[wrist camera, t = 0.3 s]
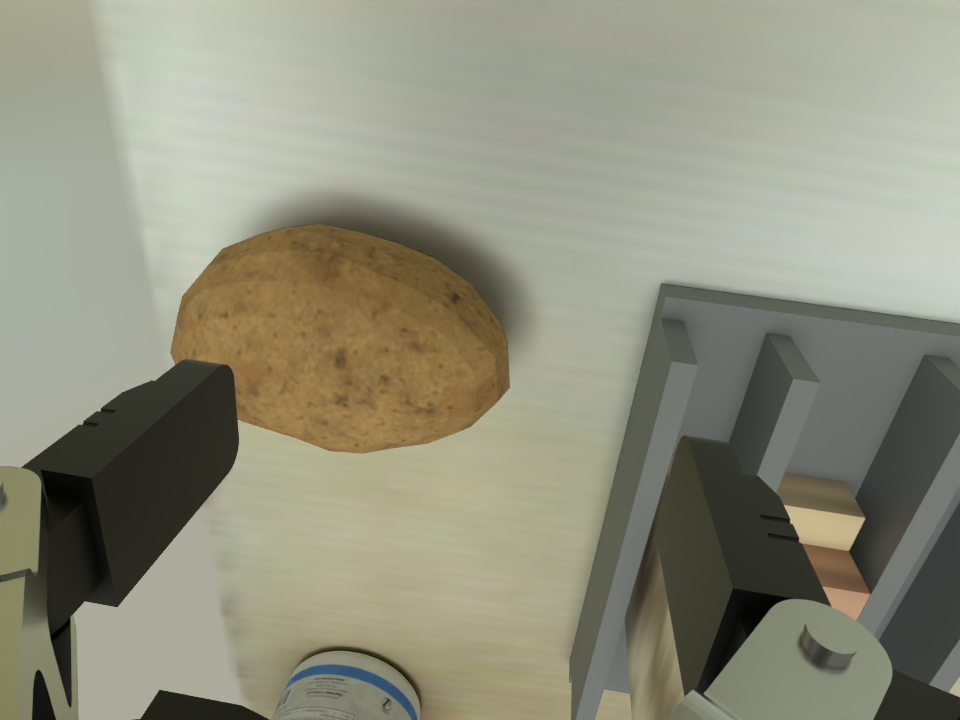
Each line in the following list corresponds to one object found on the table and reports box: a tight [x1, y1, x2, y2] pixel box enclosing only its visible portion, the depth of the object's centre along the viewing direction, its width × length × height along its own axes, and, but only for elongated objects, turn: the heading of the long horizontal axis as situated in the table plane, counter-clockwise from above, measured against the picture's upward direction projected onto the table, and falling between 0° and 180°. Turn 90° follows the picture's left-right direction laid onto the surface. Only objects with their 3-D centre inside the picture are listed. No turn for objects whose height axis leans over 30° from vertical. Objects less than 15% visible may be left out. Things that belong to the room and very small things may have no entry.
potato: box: [170, 224, 510, 453], centre depth 28 cm, size 10×14×8 cm
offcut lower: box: [776, 473, 865, 551], centre depth 31 cm, size 8×4×2 cm, turn 175°
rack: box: [569, 284, 960, 720], centre depth 32 cm, size 26×16×6 cm, turn 174°
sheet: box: [625, 455, 684, 720], centre depth 27 cm, size 10×2×14 cm, turn 174°
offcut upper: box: [802, 544, 871, 620], centre depth 30 cm, size 8×4×2 cm, turn 175°
